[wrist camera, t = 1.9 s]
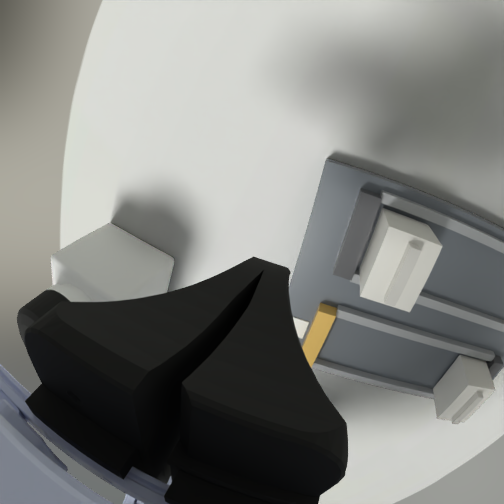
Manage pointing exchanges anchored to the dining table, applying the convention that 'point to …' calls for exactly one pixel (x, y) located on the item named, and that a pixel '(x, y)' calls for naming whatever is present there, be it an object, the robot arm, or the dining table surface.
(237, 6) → the dining table surface
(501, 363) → the switch board
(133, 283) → the medicine bottle
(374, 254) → the tab
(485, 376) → the tab
